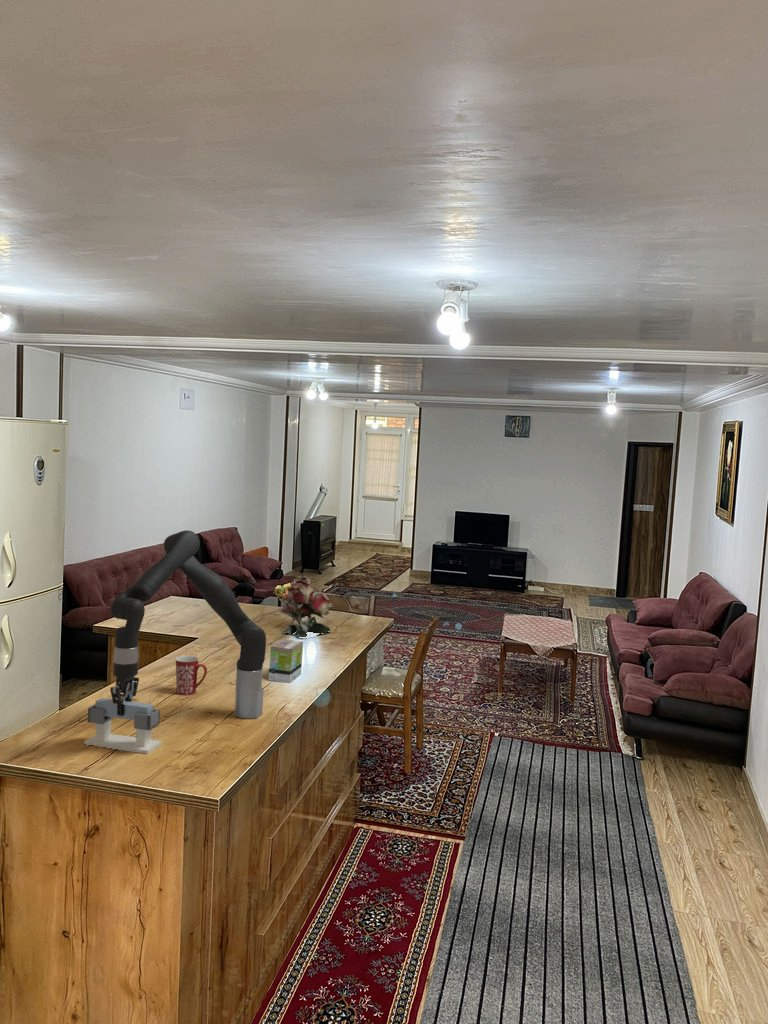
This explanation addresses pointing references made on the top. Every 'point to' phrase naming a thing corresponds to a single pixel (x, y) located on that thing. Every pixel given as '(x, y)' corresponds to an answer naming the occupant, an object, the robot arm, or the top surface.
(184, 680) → the mug
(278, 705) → the top surface
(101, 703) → the rail
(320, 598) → the rose bouquet
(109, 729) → the stand
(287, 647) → the tea box
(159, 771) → the top surface
